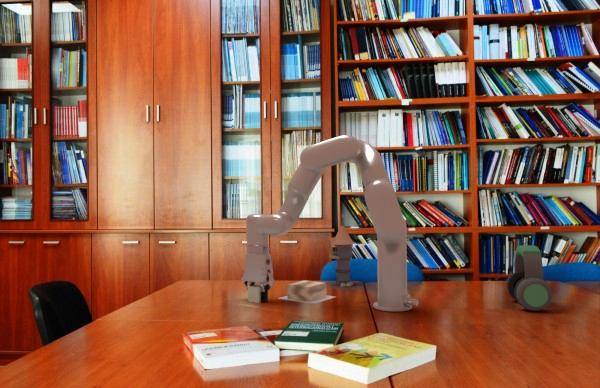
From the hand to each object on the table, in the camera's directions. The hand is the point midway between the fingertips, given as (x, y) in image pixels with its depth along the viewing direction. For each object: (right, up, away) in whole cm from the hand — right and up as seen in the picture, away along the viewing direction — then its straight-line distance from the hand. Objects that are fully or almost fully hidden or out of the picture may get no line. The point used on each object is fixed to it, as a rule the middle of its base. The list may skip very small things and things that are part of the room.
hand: (258, 301), depth 175 cm
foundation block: (+17, 0, +5) cm, 18 cm away
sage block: (0, -1, 0) cm, 1 cm away
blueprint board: (+17, -1, +5) cm, 18 cm away
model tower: (+32, -1, +33) cm, 46 cm away
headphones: (+90, 0, -9) cm, 91 cm away
